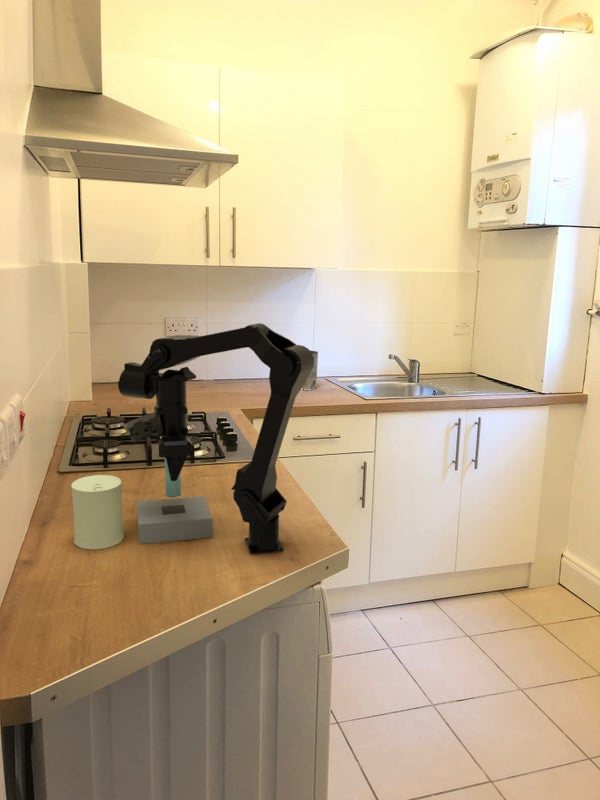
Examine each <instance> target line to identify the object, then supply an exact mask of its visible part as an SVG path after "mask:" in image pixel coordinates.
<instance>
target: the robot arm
mask: <svg viewBox="0 0 600 800" xmlns="http://www.w3.org/2000/svg"><path fill="white" fill-rule="evenodd" d="M244 348H249V349H250V350H251V351H252V352H253V353H254V354H255V356H256V357H257V358H258V359H259V360H260V361H261V362H262V364H264V365H265V366H267V367H268V368H269V375H268V380H269V381H268V382H269V387H270V395H269V398H268V403H267V407H266V410H265V413H264V416H263V420H262V424H261V427H260V431H259V434H258V437H257V440H256V444H255V447H254V452H253V455H252V457H251V461H249V462H248V463H246V464H245V465H243V466H241V468H238V469H237V470H236V474H235V480H234V484H233V486H232V487H231V489H230V490H232V491H233V497H232V498H233V500H234V502H235V504H236V505H237V507H238V508H239V513H240V515H241V519H242V521H243V522H244V523H248V537H245V538H244V540H243V542H244V543H245V545H246V547H247V551H248V553H249V554H250V555H258V554H260V555H261V554H269V553H279V552H283V551H284V550H285V549H284V547H283V544H282V542H281V541H280V538H279V537H280V513H281V512H283V511H284V510H285V509H286V505H287V499H286V498H285V496H283V495H282V493H281V492H280V491H279V490H278V489H277V480H278V476H277V475H278V474H277V470H276V469H277V468H276V463H277V461H278V457H279V454H280V451H281V448H282V447H281V446H282V445H283V444H282V443H283V440H284V437H285V434H286V432H287V431H286V430H287V428H288V424H289V422H290V421H289V420H290V418H291V414H292V410H293V408H294V404H295V401H296V398H297V396H298V394H299V393H300V391H302V390H301V388H302V387H303V385H304V384H305V382H306V381H307V379H308V377H309V375H310V373H311V371H312V369H313V367H314V357H313V355H312V353H311V351H312V350H311V349H309V348H308V347H306V346H305V345H300V344H296V343H295V342H294V341H293V340H291V339H289V338H287V337H285V336H283V335H282V334H280V333H277V332H276V331H274V330H273V329H272V328H270V327H268V326H267V325H265V324H264V323H260V322H259V323H253V324H248V325H246V326H245V327H240V328H235V329H230V330H225V331H221V332H215V333H209V334H206V335H190V334H189V335H187V334H186V335H185V334H184V335H183V334H182V335H180V334H178V335H172V336H165V337H161V338H156V339H154V340H153V341H152V342H151V345H150V348H149V353H148V354H147V356H146V357H145V359H144V361H143V362H142V363H138V362H131V361H130V362H126V363H124V369H123V370H122V372H121V373H120V375H119V379H118V381H117V386H118V387H117V388H118V391H119V393H120V394H121V395H122V396H124V397H127V398H128V397H129V398H135V399H143V400H152V399H153V398H154V397H155V401H156V402H155V403H156V404H155V406H154V407H153V408H154V409H153V411H154V412H151V413H149V414H145V415H143V416H142V415H141V416H140V417H137V418H135V419H132V420H130V421H128V422H126V429H127V431H128V434H129V437H130V439H131V440H132V443H137V442H140V441H141V440H142V439H145V438H148V437H150V436H153V435H154V436H155V437H156V438H155V443H156V444H157V455H158V457H159V458H164V459H165V458H166V461H167V465H168V470H169V474H170V478H171V481H177V479H178V476H179V474H180V473H181V472H182V469H183V467H184V464H185V462H186V459H187V458H188V457H191V456H193V455H194V444H193V442H192V440H191V439H190V438H189V437H188V436H187V435H189V429H188V425H187V424H188V422H187V420H188V418H187V415H188V410H189V409H188V407H187V382H189V381H193V380H195V379H196V378H197V375H196V374H195V373H194V372H193V371H191V370H190V368H189V367H188V366H185V367H181V368H180V369H179V370H178V369H169V368H172V367H173V368H174V367H177V366H180V365H184V364H187V363H188V362H191V361H194V360H196V359H198V358H200V357H202V356H208V355H213V354H217V353H218V354H220V353H223V352H229V351H235V350H241V349H244ZM310 350H311V351H310ZM165 369H167V370H165ZM162 370H165V371H164V372H160V371H162Z"/></svg>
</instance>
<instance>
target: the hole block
mask: <svg viewBox="0 0 600 800" xmlns="http://www.w3.org/2000/svg"><path fill="white" fill-rule="evenodd" d="M136 513H137V514H136V515H137V535H138V545H142V544H155V543H165V542H167V543H169V542H176V541H188V540H199V539H211V538H213V516H212V513H211V511H210V508H209V505H208V502H207V499H206V496H205V495H204V496H191V497H179V498H178V497H175V498H164V499H162V498H161V499H153V500H152V499H151V500H139V501H138V500H137V501H136Z"/></svg>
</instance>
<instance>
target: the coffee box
mask: <svg viewBox="0 0 600 800" xmlns="http://www.w3.org/2000/svg"><path fill="white" fill-rule="evenodd" d="M309 350H310V351H311V353H312V355H313V357H314V367H313V369H312V371H311V373H310V375H309V377H308V379H307V381H306V382H305V384H304V385H303V387H302V388H303V389H307V390H308V389H313V388H316V389H317V385H318V384H317V383H318V381H317V379H318V361H319V360H318V359H319V358H318V357H319V355H318V354H319V351H316V350H311V349H309Z"/></svg>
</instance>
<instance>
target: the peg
mask: <svg viewBox="0 0 600 800" xmlns="http://www.w3.org/2000/svg"><path fill="white" fill-rule="evenodd" d="M181 477H182V476H181V472H180V474H179V476H178V479H177V481H171V478H170V474H169V470H168V465H167V461H166V458H165V457H164V478H165V479H164V480H165V481H164V482H165V483H164V484H165V496H166V497H167V498H178V497H180V496H181V495H182V484H181V483H182V482H181V481H182V480H181Z"/></svg>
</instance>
